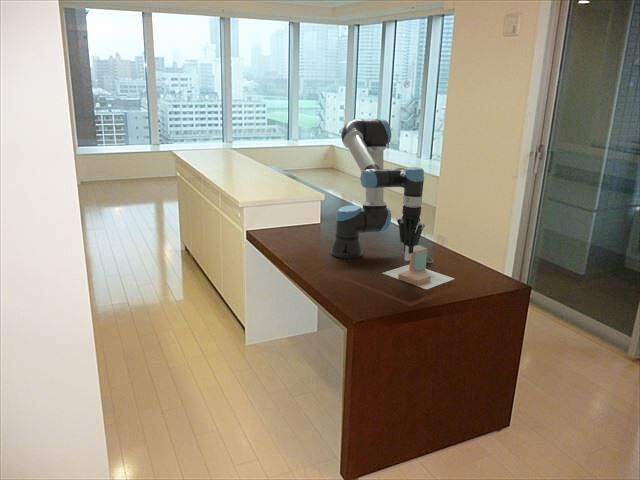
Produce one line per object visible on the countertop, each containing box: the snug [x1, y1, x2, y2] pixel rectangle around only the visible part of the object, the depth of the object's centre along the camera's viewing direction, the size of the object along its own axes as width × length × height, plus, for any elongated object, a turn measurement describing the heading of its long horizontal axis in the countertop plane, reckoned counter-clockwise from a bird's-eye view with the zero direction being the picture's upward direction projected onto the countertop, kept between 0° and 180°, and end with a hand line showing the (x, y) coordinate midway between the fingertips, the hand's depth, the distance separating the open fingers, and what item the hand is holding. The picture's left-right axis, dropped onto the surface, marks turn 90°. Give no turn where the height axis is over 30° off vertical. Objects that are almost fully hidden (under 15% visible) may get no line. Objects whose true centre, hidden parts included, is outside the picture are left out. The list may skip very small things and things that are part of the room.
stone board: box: [382, 263, 455, 290], centre depth 229 cm, size 24×20×1 cm
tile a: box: [397, 270, 431, 286], centre depth 223 cm, size 2×9×10 cm
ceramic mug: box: [413, 244, 434, 264], centre depth 248 cm, size 11×8×8 cm
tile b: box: [408, 246, 428, 272], centre depth 233 cm, size 2×9×10 cm, turn 132°
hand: (407, 259), depth 224 cm, fingers closed
